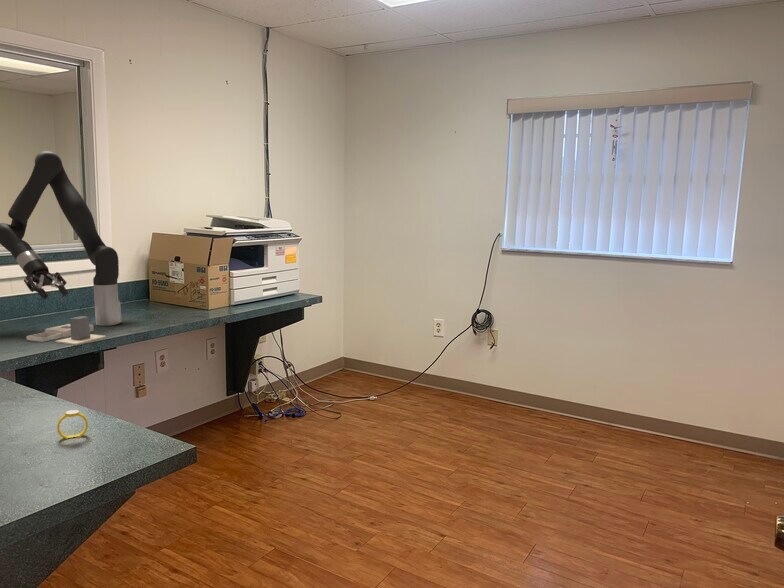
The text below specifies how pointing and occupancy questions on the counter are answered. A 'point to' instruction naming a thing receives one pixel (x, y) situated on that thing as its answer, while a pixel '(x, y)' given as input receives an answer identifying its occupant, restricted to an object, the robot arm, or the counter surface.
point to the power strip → (53, 333)
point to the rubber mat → (76, 342)
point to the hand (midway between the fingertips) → (56, 296)
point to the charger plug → (80, 328)
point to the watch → (72, 414)
